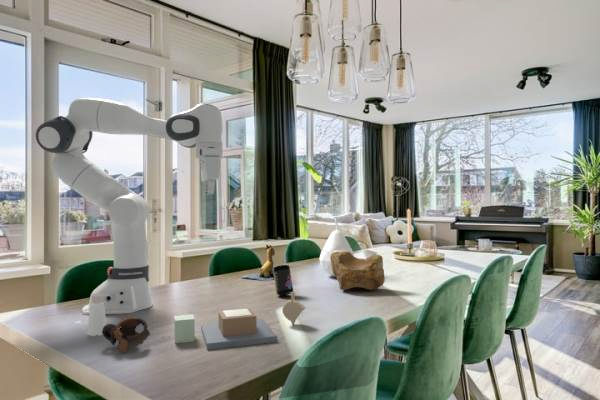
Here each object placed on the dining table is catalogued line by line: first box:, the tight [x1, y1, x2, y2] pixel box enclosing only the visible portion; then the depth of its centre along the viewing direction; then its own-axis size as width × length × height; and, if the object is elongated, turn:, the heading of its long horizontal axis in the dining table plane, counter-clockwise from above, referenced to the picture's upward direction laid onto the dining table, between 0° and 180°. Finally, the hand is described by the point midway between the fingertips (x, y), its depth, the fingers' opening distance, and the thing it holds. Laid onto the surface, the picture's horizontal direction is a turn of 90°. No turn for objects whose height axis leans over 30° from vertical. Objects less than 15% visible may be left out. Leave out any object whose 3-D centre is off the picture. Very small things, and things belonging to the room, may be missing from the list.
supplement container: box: [273, 264, 294, 297], centre depth 167 cm, size 7×7×10 cm
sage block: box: [173, 313, 196, 344], centre depth 115 cm, size 5×5×6 cm
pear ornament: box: [318, 218, 355, 278], centre depth 209 cm, size 16×22×28 cm
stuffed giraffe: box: [239, 244, 275, 282], centre depth 208 cm, size 16×18×16 cm
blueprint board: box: [200, 307, 278, 350], centre depth 119 cm, size 18×18×6 cm
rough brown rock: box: [330, 251, 385, 291], centre depth 177 cm, size 23×17×15 cm
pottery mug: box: [102, 316, 151, 354], centre depth 109 cm, size 12×9×8 cm
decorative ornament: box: [282, 291, 306, 326], centre depth 128 cm, size 4×8×5 cm
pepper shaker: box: [86, 294, 107, 337], centre depth 121 cm, size 5×5×11 cm
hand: (209, 194), depth 144 cm, fingers open, 8 cm apart
